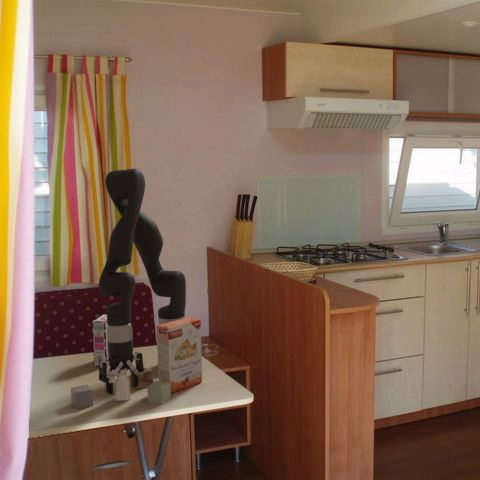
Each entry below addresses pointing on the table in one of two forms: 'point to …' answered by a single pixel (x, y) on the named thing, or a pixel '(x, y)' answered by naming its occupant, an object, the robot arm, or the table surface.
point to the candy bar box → (100, 340)
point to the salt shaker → (122, 386)
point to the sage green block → (159, 392)
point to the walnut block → (144, 378)
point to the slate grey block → (81, 396)
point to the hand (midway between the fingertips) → (122, 390)
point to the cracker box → (179, 353)
